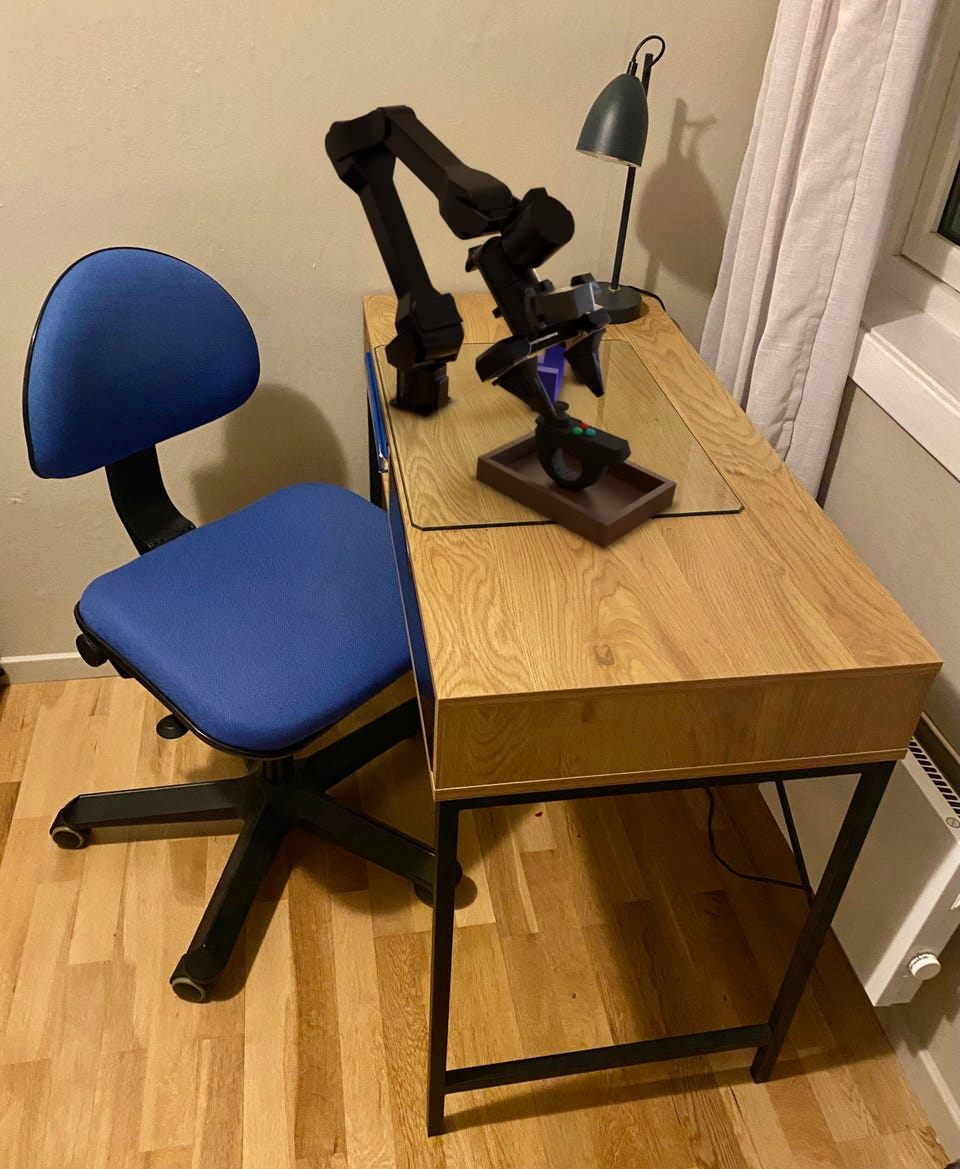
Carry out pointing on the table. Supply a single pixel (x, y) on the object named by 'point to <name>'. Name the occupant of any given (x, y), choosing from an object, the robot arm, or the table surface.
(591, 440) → the controller
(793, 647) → the table surface
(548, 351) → the purple stepped block
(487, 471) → the tray
